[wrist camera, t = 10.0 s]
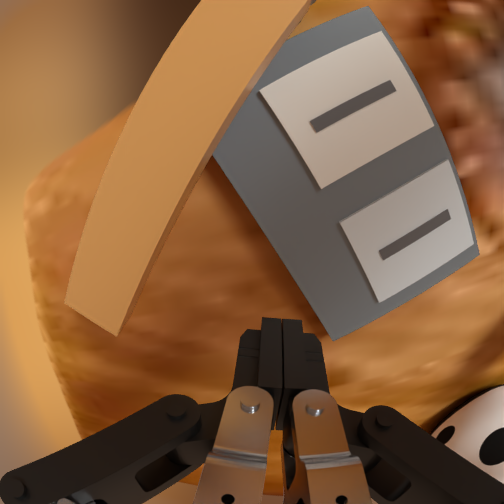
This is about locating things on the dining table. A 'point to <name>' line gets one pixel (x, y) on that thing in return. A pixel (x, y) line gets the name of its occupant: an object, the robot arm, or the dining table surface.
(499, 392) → the milk container
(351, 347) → the dining table surface
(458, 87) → the dining table surface
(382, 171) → the label board
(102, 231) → the swing bar
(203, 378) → the dining table surface
